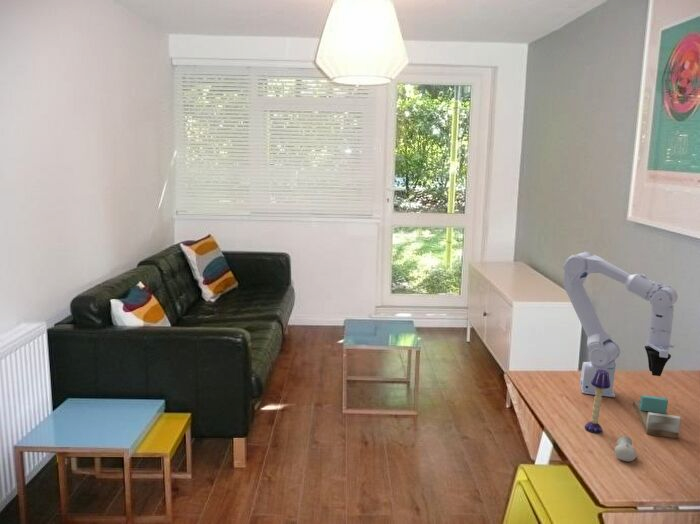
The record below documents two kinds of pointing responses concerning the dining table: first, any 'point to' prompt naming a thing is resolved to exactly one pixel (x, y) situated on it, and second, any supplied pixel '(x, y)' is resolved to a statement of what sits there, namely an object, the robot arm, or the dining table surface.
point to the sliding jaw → (653, 404)
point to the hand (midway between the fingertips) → (654, 373)
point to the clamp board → (658, 422)
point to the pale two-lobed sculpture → (625, 449)
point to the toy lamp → (598, 399)
